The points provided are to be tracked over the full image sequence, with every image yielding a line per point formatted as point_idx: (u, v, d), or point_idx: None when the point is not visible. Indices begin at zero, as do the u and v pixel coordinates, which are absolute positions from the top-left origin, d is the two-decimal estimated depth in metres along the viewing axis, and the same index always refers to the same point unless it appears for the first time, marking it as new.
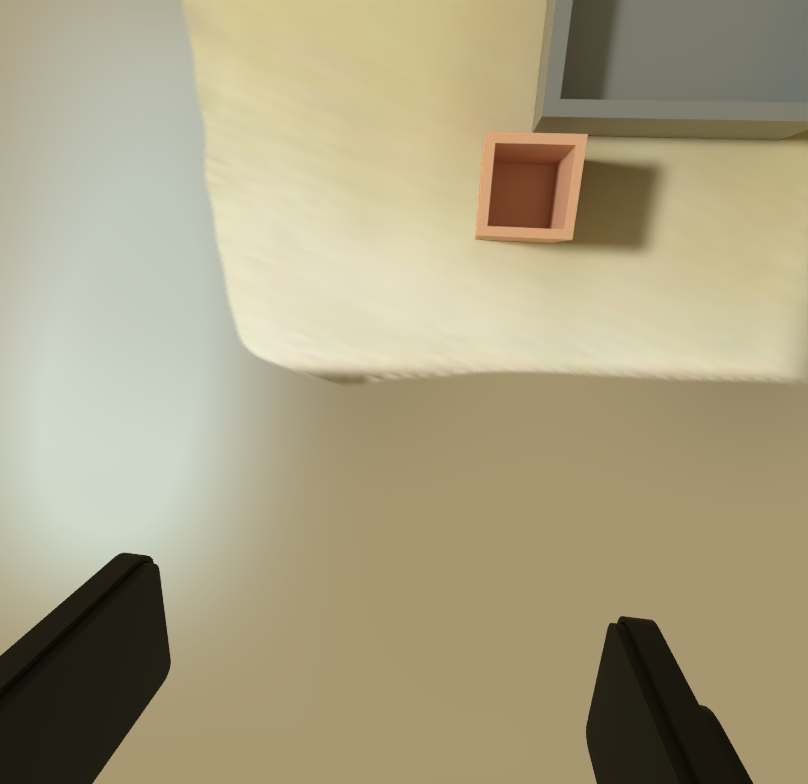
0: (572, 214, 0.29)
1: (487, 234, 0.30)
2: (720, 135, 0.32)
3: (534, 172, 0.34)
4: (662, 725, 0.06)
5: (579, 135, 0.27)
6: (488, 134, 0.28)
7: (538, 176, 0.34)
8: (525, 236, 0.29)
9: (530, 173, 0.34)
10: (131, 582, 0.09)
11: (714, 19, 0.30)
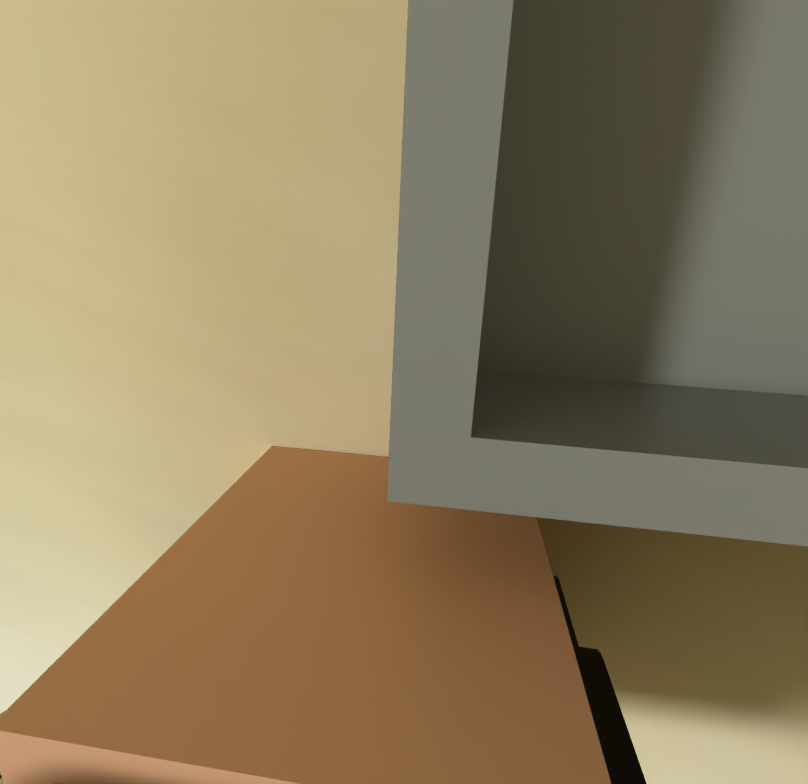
0: None
1: None
2: None
3: None
4: None
5: None
6: (1, 745, 0.04)
7: None
8: None
9: None
10: None
11: None
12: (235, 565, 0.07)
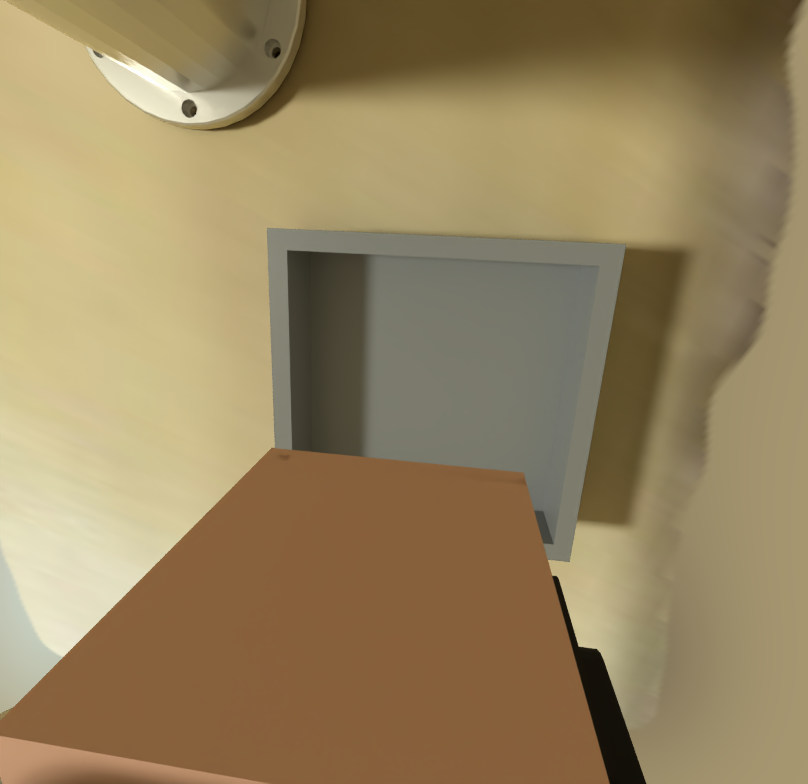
0: None
1: None
2: None
3: None
4: None
5: None
6: (0, 750, 0.04)
7: None
8: None
9: None
10: None
11: (465, 419, 0.28)
12: (235, 568, 0.07)
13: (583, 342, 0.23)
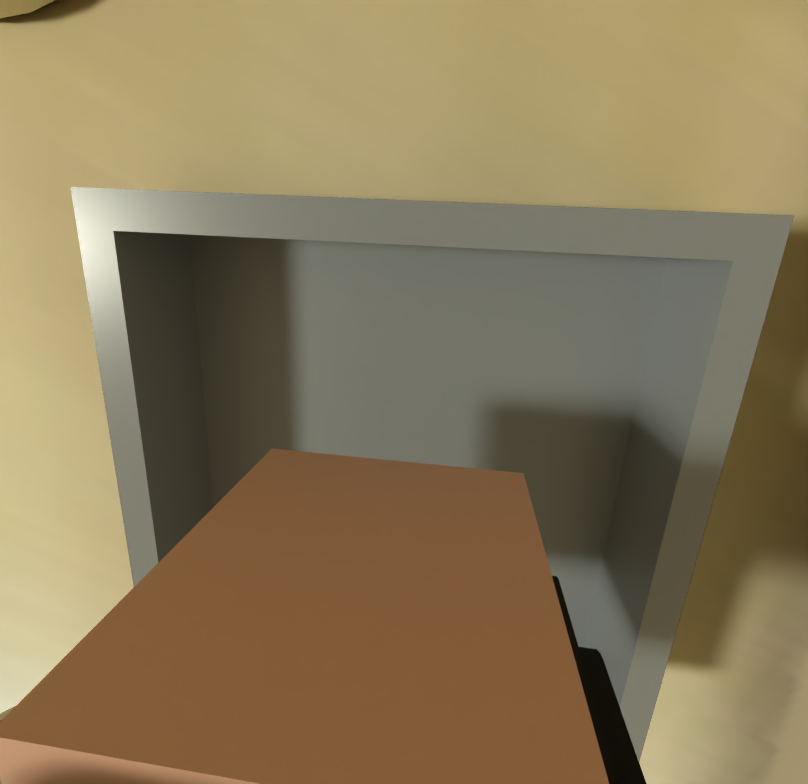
0: None
1: None
2: None
3: None
4: None
5: None
6: (0, 752, 0.04)
7: None
8: None
9: None
10: None
11: None
12: (235, 570, 0.07)
13: (684, 407, 0.12)
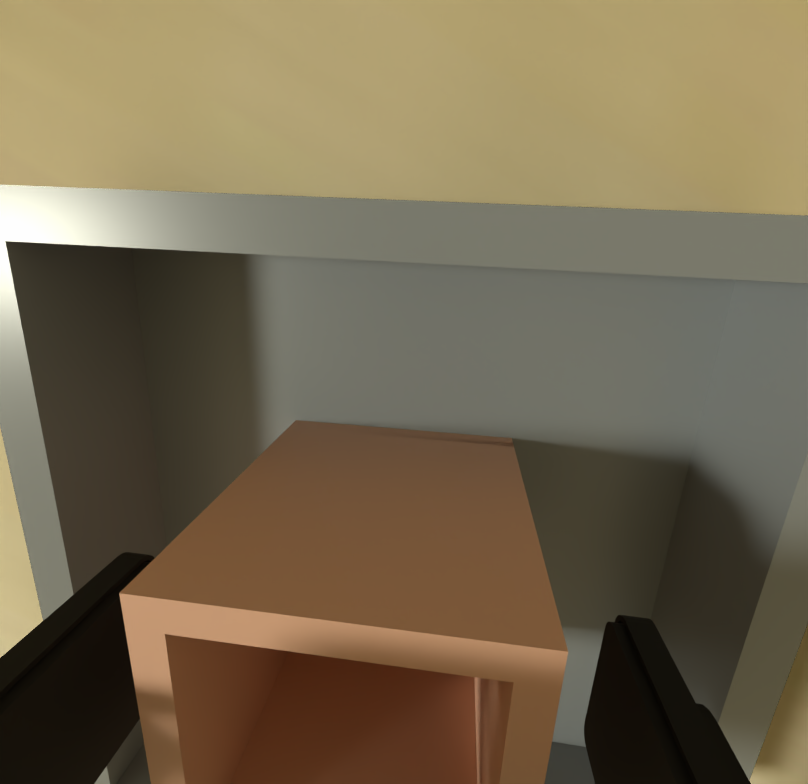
0: None
1: None
2: None
3: None
4: (658, 722, 0.07)
5: (528, 651, 0.06)
6: (128, 605, 0.06)
7: None
8: None
9: None
10: None
11: None
12: (278, 502, 0.09)
13: (774, 481, 0.09)
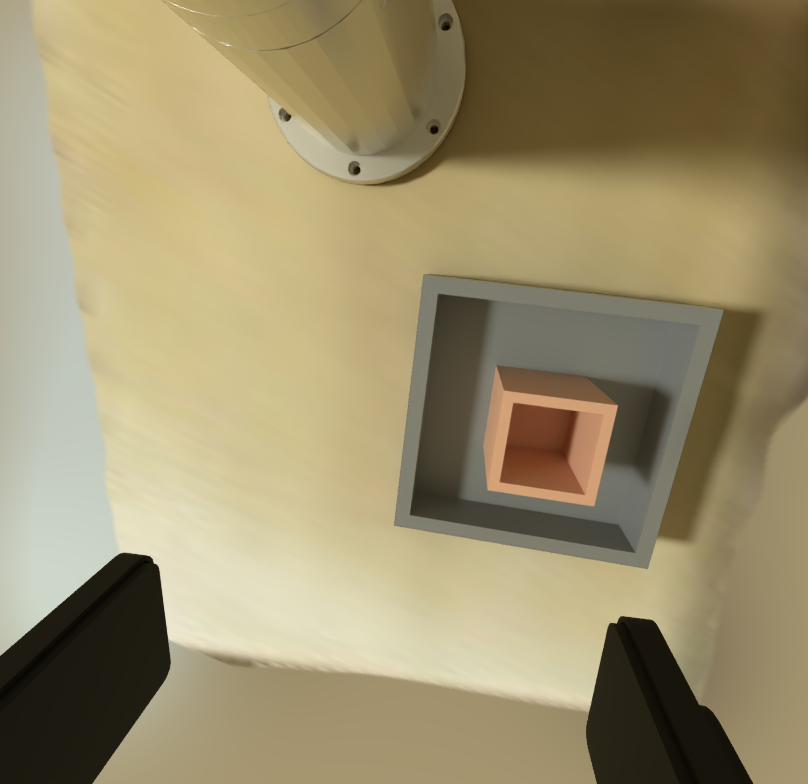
0: (595, 482, 0.26)
1: (499, 490, 0.26)
2: None
3: None
4: (662, 725, 0.06)
5: (608, 405, 0.24)
6: (506, 393, 0.25)
7: None
8: (541, 497, 0.26)
9: None
10: (131, 582, 0.09)
11: None
12: (520, 381, 0.27)
13: (678, 385, 0.28)
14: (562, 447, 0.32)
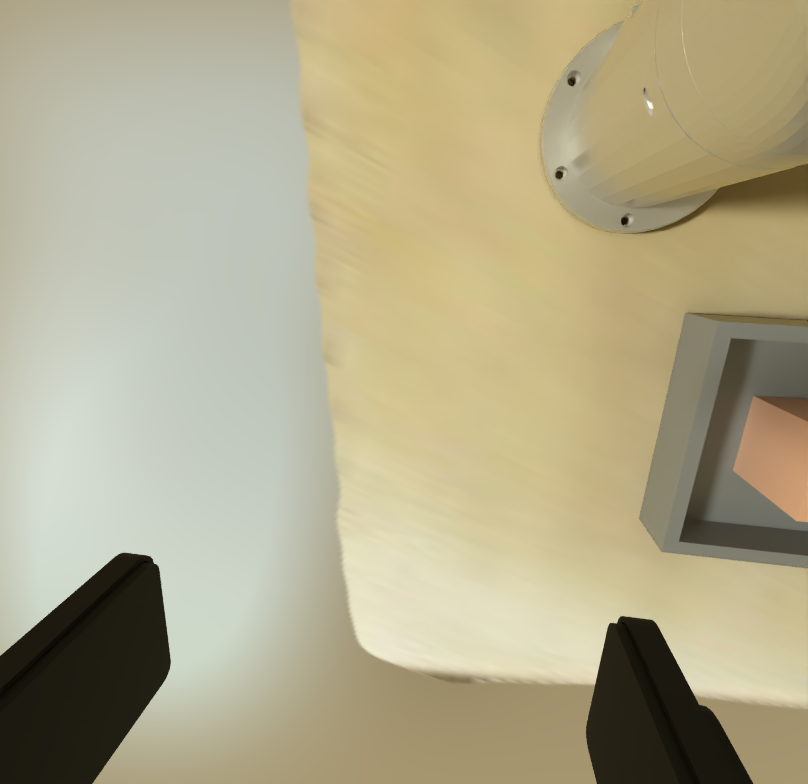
0: None
1: None
2: None
3: None
4: (662, 725, 0.06)
5: None
6: None
7: None
8: None
9: None
10: (131, 582, 0.09)
11: None
12: None
13: None
14: None
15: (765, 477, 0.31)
